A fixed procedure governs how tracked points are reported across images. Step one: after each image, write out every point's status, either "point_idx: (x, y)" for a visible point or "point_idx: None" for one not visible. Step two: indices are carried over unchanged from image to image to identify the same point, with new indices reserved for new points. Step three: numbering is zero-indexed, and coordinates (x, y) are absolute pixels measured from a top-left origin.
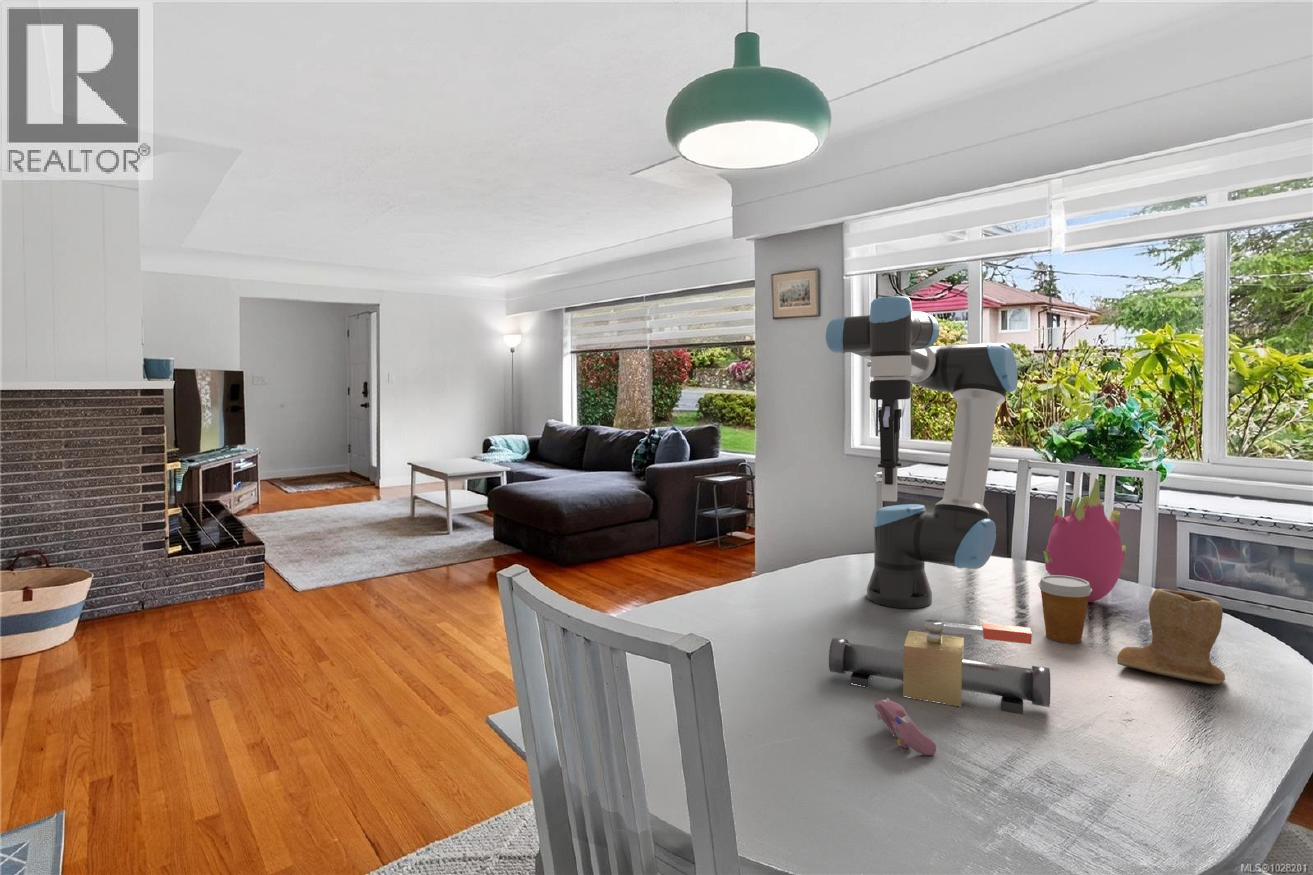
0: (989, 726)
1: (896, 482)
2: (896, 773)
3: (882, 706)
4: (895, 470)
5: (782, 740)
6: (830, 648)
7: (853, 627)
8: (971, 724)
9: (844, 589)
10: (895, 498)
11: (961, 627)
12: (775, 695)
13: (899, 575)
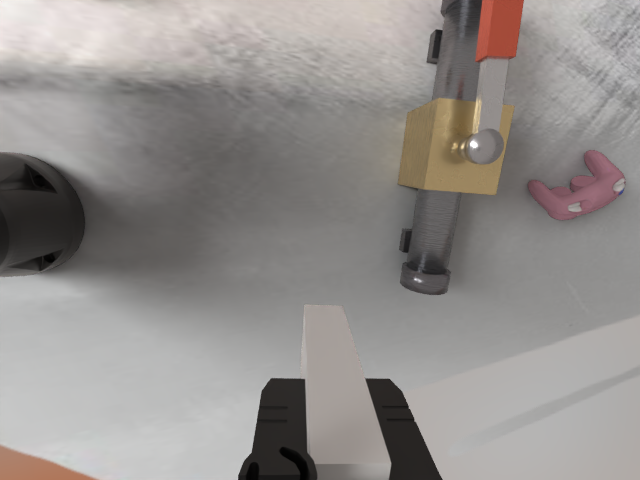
0: (511, 87)
1: (358, 366)
2: None
3: (594, 210)
4: (385, 448)
5: (576, 295)
6: (446, 291)
7: (218, 272)
8: None
9: (10, 311)
10: (345, 316)
11: (501, 98)
12: (479, 323)
13: (18, 221)
